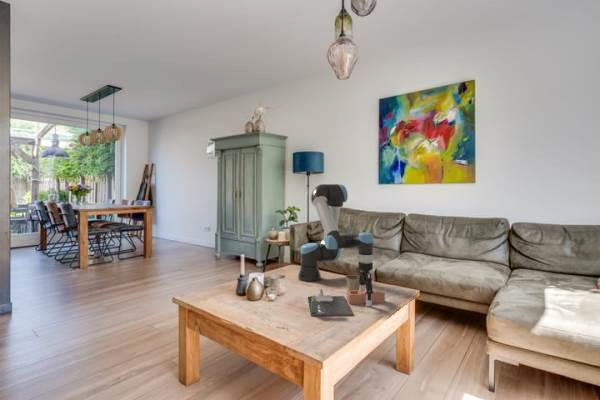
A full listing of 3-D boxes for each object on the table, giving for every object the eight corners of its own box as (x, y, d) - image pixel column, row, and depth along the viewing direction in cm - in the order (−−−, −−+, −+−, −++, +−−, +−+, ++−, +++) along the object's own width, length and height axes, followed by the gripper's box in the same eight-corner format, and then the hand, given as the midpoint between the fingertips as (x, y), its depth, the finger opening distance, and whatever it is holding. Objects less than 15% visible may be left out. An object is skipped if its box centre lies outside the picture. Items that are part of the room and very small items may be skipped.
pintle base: (307, 298, 171) (307, 283, 170) (343, 297, 171) (343, 283, 171) (310, 316, 147) (310, 298, 146) (352, 315, 147) (352, 298, 147)
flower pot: (360, 289, 186) (360, 275, 185) (362, 294, 176) (362, 279, 176) (345, 289, 187) (345, 274, 186) (345, 294, 177) (345, 279, 177)
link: (349, 304, 162) (349, 294, 162) (346, 299, 169) (346, 290, 168) (385, 303, 163) (385, 294, 163) (381, 299, 169) (382, 290, 169)
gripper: (353, 256, 177) (353, 293, 178) (364, 267, 152) (364, 310, 153) (366, 256, 177) (366, 293, 178) (379, 267, 153) (379, 310, 153)
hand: (365, 301), depth 165 cm, fingers open, 13 cm apart
